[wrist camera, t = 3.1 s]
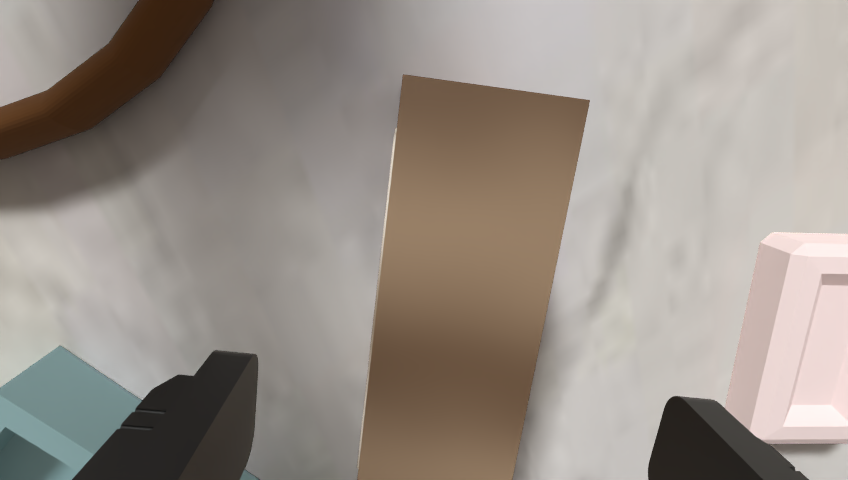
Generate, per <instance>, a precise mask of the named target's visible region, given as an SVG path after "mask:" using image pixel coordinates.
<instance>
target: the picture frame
mask: <svg viewBox="0 0 848 480" xmlns="http://www.w3.org/2000/svg"><path fill="white" fill-rule="evenodd" d="M589 102H590V100H584V99H577V98H570V97H563V96H555V95H548V94H541V93H534V92H526V91H519V90H512V89H505V88H497V87H490V86H483V85H476V84H469V83H461V82H454V81H447V80H440V79H432V78H425V77H418V76H411V75H404V74H403V78H402V87H401V96H400V105H399V114H398V123H397V128H395V134H394V139H393V148H392V157H391V166H390V175H389V184H388V193H387V202H386V211H385V220H384V229H383V238H382V247H381V256H380V265H379V274H378V283H377V292H376V301H375V310H374V319H373V328H372V336H371V345H370V354H369V363H368V372H367V381H366V390H365V399H364V408H363V417H362V426H361V435H360V444H359V453H358V462H357V468H359V469H358V478H357V480H512V478H513V473H514V468H515V463H516V459H517V454H518V449H519V444H520V439H521V434H522V429H523V424H524V420H525V415H526V410H527V405H528V400H529V395H530V390H531V385H532V381H533V376H534V371H535V366H536V361H537V356H538V351H539V346H540V342H541V337H542V332H543V327H544V322H545V317H546V312H547V307H548V302H549V298H550V293H551V288H552V283H553V278H554V273H555V268H556V263H557V259H558V254H559V249H560V244H561V239H562V234H563V229H564V224H565V220H566V215H567V210H568V205H569V200H570V195H571V190H572V185H573V181H574V176H575V171H576V166H577V161H578V156H579V151H580V146H581V141H582V137H583V132H584V127H585V122H586V117H587V112H588V107H589Z"/></svg>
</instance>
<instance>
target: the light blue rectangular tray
mask: <svg viewBox="0 0 848 480" xmlns="http://www.w3.org/2000/svg"><path fill="white" fill-rule="evenodd" d="M141 401H142V400H140V399H139V398H137V397H136V396H134V395H133V394H131V393H130V392H128V391H127V390H125V389H124V388H122V387H121V386H119V385H118V384H116V383H115V382H113V381H112V380H110V379H109V378H108V377H106V376H105V375H103V374H102V373H100V372H99V371H97V370H96V369H94V368H93V367H91V366H90V365H88V364H87V363H85V362H84V361H82V360H81V359H79V358H78V357H76V356H75V355H73V354H72V353H70V352H69V351H67V350H66V349H64V348H63V347H61V346H59V347H57V348H56V349H54V350H53V351H52V352H50V353H49V354H47V355H46V356H44V357H43V358H42V359H40V360H39V361H37V362H36V363H35V364H33V365H32V366H30V367H29V368H28V369H26V370H25V371H23V372H22V373H20V374H19V375H18V376H16V377H15V378H13V379H12V380H11V381H9V382H8V383H6V384H5V385H3V386H2V387H1V388H0V480H72V479H73V478H74V477H75V475H76V474H77V473H78V472H79V471H80V470H81V469H82V468H83V466H84V465H85V464H86V463H87V462H88V461H89V460H90V459H91V458H92V456H93V455H94V454H95V453H96V452H97V451H98V450H99V449H100V447H101V446H102V445H103V444H104V443H105V442H106V441H107V440H108V438H109V437H110V436H111V435H112V434H113V433H114V432H115V431H116V429H120V427H121V424H122V423H123V422H124V421H125V419H126V418H127V417H128V416H129V415H130V414H131V413H132V412H135V409H136V407H137V406H138V405H139V404H140V403H141ZM240 480H259V479H258V478H256V477H255V476H253V475H252V474H250V473H249V472H247V471H246V470H244V471H243V474H242V476H241V478H240Z"/></svg>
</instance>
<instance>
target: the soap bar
mask: <svg viewBox="0 0 848 480" xmlns="http://www.w3.org/2000/svg"><path fill="white" fill-rule="evenodd" d="M725 409H726V410H727V411H728V412H729V413H730V414H731V415H733V416H734V417H735V418H736V419H737V420H738V421H739V422H740V423H741V424H742V425H744V426H745V427H746V428H747V429H748V430H749V431H750V432H751V433H752V434H753V435H755V436H756V437H757V438H759V439H761V440H762V441H764V442H765V443H767V444H848V234H829V233H784V232H772V233H771V234H770V235H769V236H767V237H766V238H765V239H764V240H762V241H761V242H760V245H759V250H758V254H757V259H756V264H755V268H754V273H753V278H752V282H751V287H750V292H749V296H748V301H747V306H746V310H745V315H744V320H743V325H742V329H741V334H740V339H739V343H738V348H737V353H736V357H735V362H734V367H733V371H732V376H731V381H730V385H729V390H728V395H727V399H726V404H725Z"/></svg>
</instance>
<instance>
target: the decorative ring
mask: <svg viewBox="0 0 848 480" xmlns="http://www.w3.org/2000/svg"><path fill="white" fill-rule="evenodd" d="M213 1H214V0H139V1H138V2H137V4H136V5H135V6H134V8H133V9H132V11H131V12H130V14H129V15H128V17H127V18H126V19H125V21H124V22H123V24H122V25H121V27H120V28H119V29H118V31H117V32H116V34H115V35H114V37H113V38H112V39H111V41H110V42H109V44H107V45H106V46H105V47H103V48H102V49H101V50H99V51H98V52H97V53H95V54H94V55H93V56H92V57H90V58H89V59H88V60H86V61H85V62H84V63H82V64H81V65H80V66H78V67H77V68H76V69H75V70H73V71H72V72H71V73H69V74H68V75H67V76H65V77H64V78H63V79H61V80H60V81H59V82H58V83H56V84H55V85H54V86H52V87H51V88H50V89H48V90H47V91H44V92H42V93H39V94H36V95H33V96H30V97H28V98H25V99H22V100H19V101H16V102H14V103H11V104H8V105H5V106H2V107H0V159H6V158H9V157H12V156H15V155H18V154H21V153H23V152H26V151H29V150H32V149H35V148H38V147H40V146H43V145H46V144H49V143H52V142H55V141H57V140H60V139H63V138H66V137H69V136H72V135H74V134H77V133H80V132H83V131H86V130H89V129H91V128H92V127H94V126H95V125H97V124H98V123H99V122H101V121H102V120H103V119H105V118H106V117H107V116H109V115H110V114H111V113H113V112H114V111H115V110H117V109H118V108H119V107H121V106H122V105H123V104H125V103H126V102H127V101H129V100H130V99H132V98H133V97H134V96H136V95H137V94H138V93H140V92H141V91H142V90H144V89H145V88H146V87H148V86H149V85H150V84H152V83H153V82H154V81H156V80H157V79H158V78H160V77H161V75H162V74H163V72H164V71H165V70H166V68H167V67H168V66H169V64H170V63H171V61H172V60H173V59H174V57H175V56H176V55H177V53H178V52H179V50H180V49H181V48H182V46H183V45H184V44H185V42H186V41H187V40H188V38H189V37H190V35H191V34H192V33H193V31H194V30H195V29H196V27H197V26H198V24H199V23H200V22H201V20H202V19H203V18H204V16H205V15H206V13H207V12H208V11H209V9H210V8H211V7H212V4H213Z"/></svg>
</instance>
